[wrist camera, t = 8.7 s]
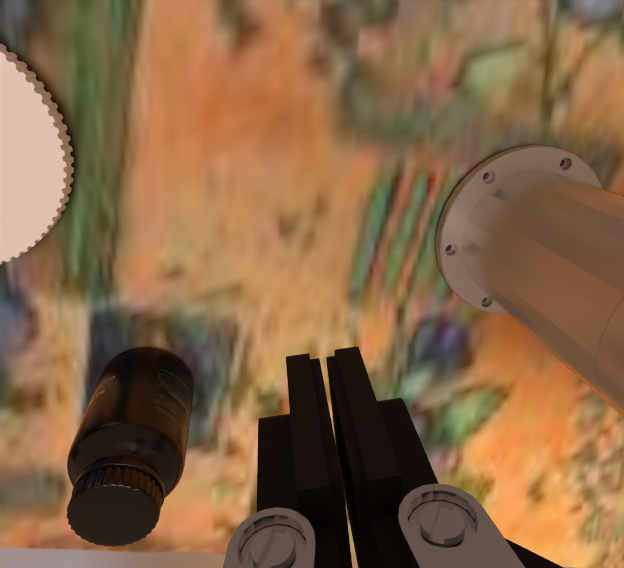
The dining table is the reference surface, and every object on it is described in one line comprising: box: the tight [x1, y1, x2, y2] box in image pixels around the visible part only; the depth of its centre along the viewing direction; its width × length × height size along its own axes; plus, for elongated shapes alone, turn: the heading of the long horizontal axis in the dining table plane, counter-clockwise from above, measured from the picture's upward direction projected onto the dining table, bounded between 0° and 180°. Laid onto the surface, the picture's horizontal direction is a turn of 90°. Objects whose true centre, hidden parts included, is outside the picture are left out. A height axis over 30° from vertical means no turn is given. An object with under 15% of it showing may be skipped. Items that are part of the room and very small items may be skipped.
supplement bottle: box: [67, 350, 193, 547], centre depth 32 cm, size 7×7×12 cm
